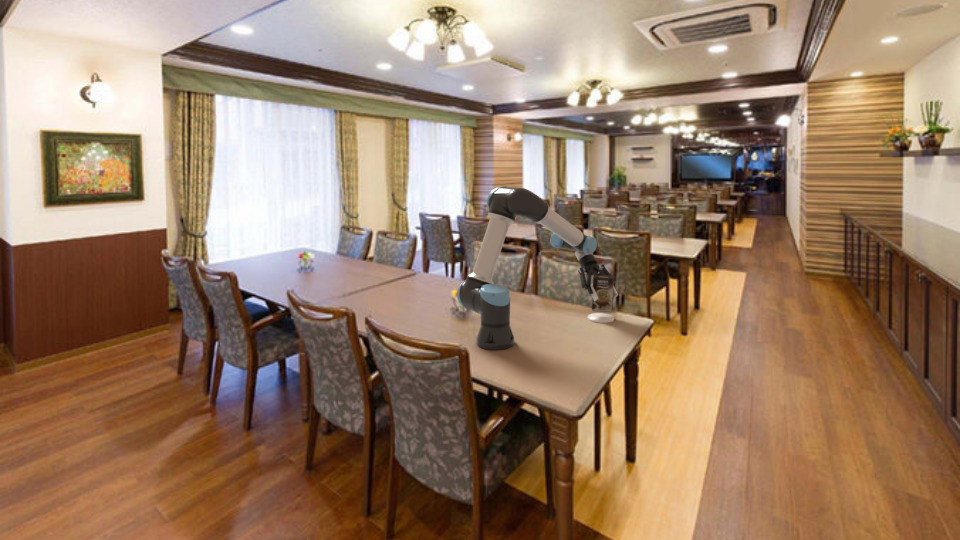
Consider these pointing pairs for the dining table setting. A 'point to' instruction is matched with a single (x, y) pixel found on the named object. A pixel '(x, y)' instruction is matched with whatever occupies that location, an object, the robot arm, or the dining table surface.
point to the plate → (601, 318)
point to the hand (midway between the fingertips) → (606, 298)
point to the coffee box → (603, 293)
